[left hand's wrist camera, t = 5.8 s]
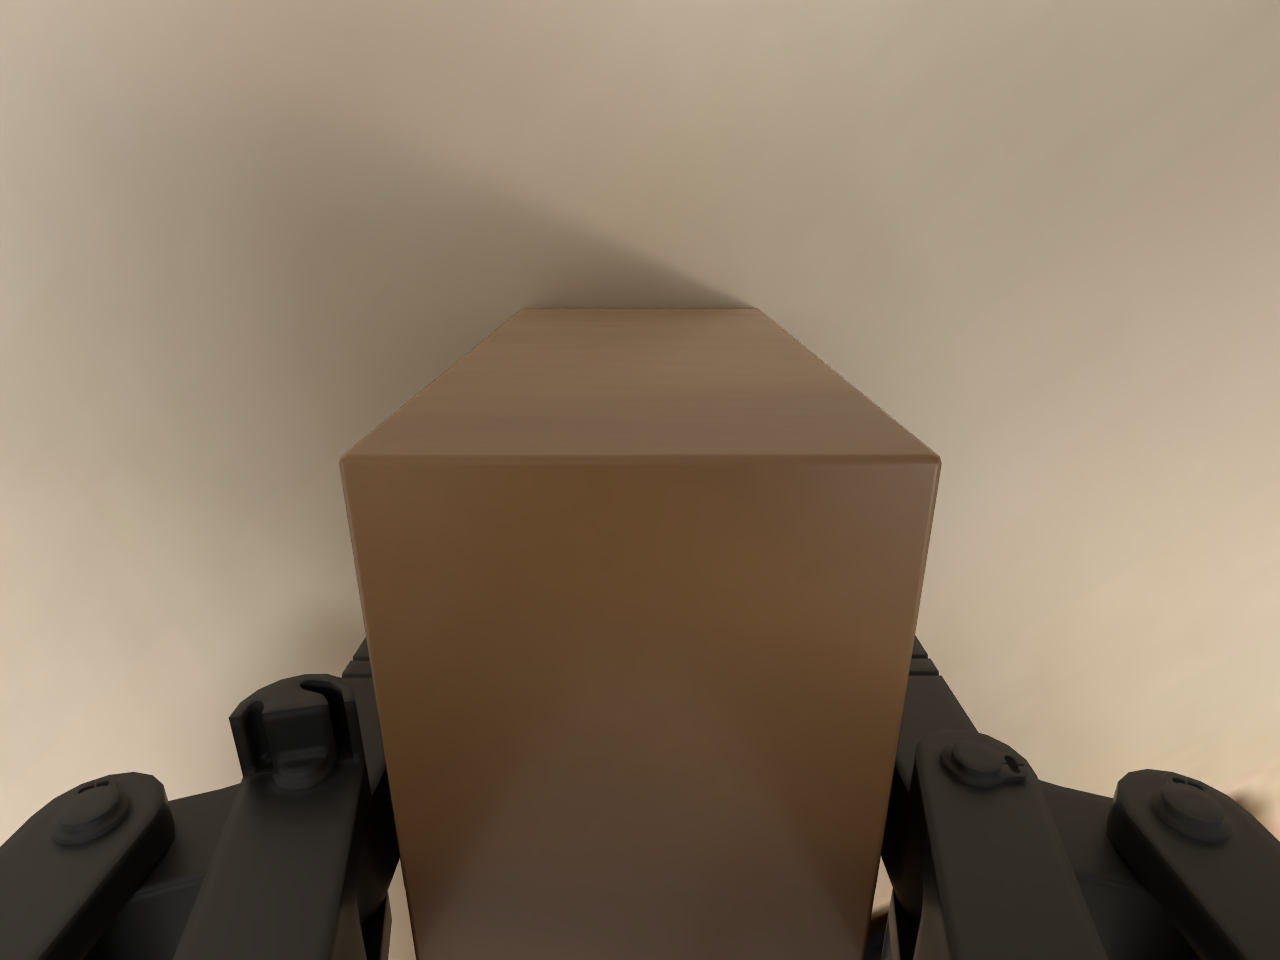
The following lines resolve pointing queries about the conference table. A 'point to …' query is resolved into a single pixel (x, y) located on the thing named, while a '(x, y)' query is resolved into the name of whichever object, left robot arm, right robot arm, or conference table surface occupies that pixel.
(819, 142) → the conference table surface
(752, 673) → the beam
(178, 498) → the conference table surface
